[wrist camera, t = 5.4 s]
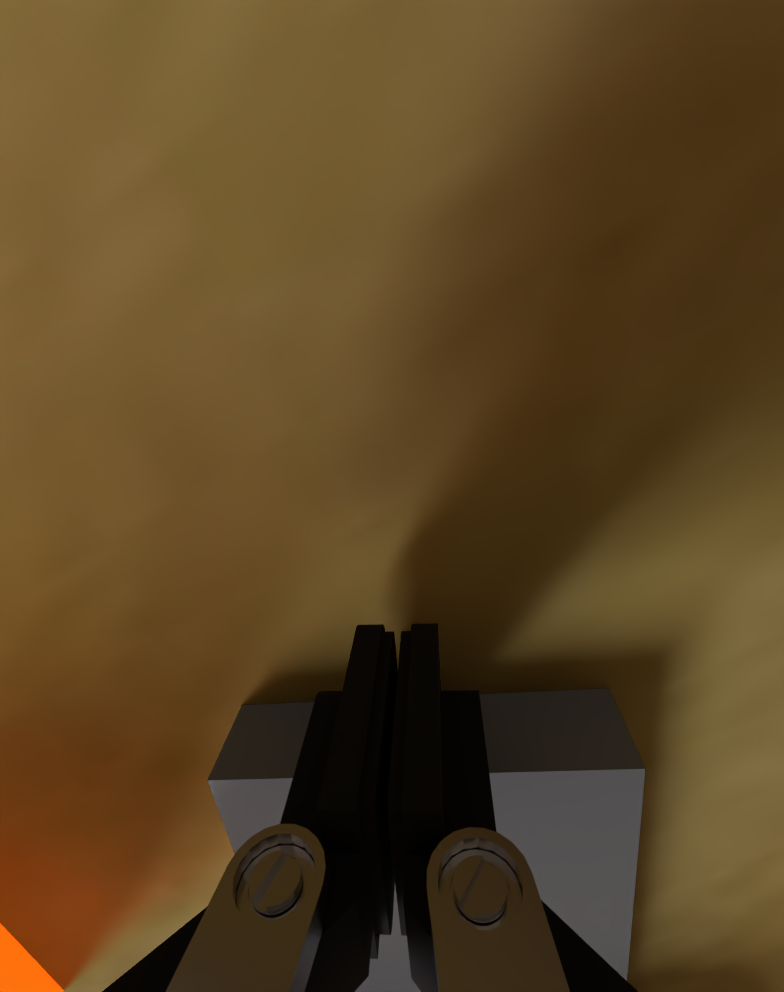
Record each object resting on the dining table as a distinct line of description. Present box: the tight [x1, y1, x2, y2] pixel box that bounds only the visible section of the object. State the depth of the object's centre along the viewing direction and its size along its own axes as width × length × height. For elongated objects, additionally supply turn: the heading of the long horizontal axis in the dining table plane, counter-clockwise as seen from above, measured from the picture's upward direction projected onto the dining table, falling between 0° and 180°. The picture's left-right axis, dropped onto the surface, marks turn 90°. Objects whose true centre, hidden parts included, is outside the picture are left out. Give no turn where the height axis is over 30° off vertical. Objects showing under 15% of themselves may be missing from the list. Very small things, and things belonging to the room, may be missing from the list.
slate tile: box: [207, 688, 645, 992], centre depth 14 cm, size 14×9×2 cm, turn 7°
